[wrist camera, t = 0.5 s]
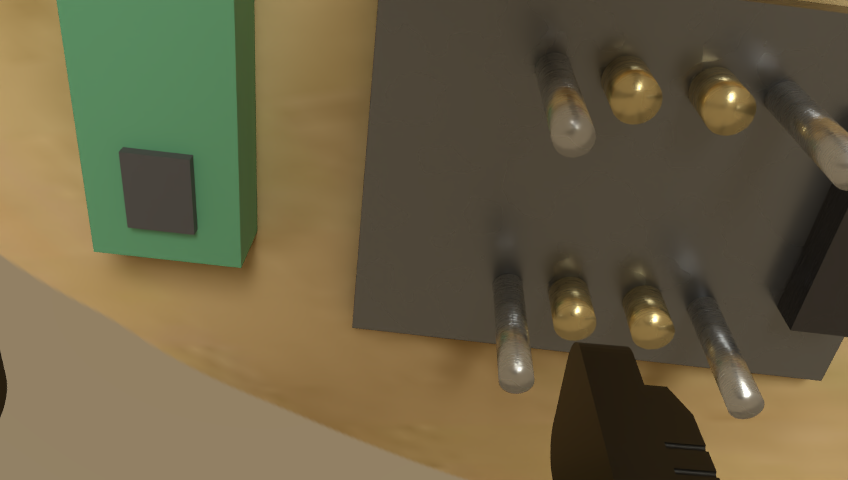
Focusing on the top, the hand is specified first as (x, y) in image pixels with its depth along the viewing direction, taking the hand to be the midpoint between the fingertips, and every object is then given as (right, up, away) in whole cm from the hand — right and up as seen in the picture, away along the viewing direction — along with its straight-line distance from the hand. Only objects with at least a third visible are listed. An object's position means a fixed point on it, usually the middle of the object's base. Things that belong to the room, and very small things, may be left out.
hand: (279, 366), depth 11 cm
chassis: (+10, +4, +18) cm, 21 cm away
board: (-7, +8, +17) cm, 20 cm away
